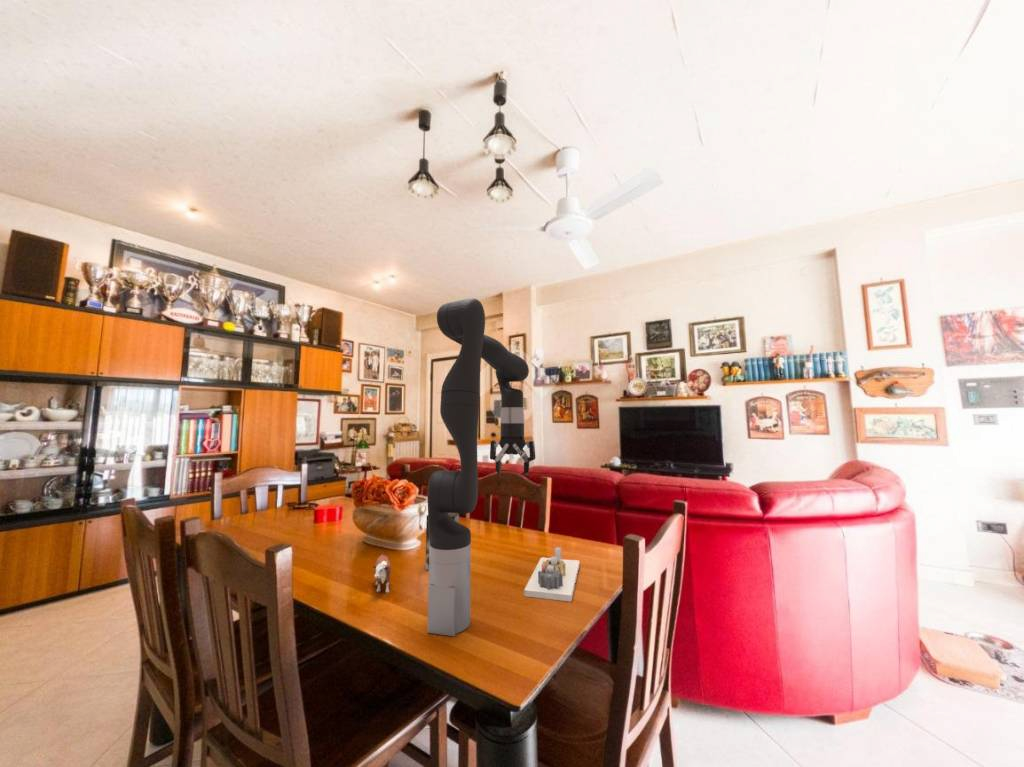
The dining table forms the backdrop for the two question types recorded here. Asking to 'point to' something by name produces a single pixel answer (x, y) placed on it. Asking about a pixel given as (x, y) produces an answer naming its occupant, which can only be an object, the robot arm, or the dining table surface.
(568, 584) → the gear board
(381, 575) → the bull figurine
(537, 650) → the dining table surface
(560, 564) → the brass gear
